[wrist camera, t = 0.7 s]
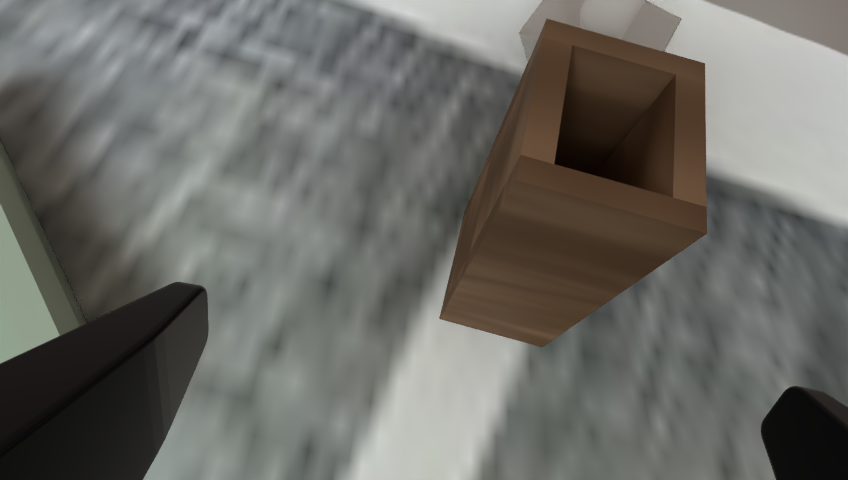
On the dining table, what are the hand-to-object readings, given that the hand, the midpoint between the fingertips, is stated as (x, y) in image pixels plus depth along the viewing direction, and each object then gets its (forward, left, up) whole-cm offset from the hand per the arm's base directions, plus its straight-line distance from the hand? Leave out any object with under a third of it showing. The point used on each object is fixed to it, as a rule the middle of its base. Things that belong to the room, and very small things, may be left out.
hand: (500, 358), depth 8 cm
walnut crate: (+6, -6, -15) cm, 18 cm away
